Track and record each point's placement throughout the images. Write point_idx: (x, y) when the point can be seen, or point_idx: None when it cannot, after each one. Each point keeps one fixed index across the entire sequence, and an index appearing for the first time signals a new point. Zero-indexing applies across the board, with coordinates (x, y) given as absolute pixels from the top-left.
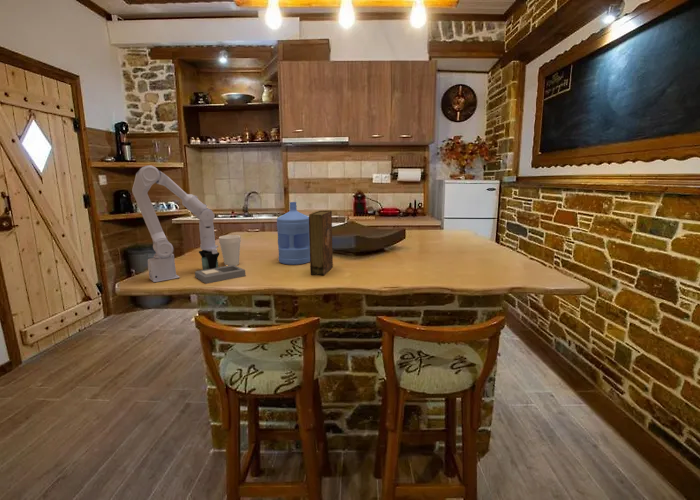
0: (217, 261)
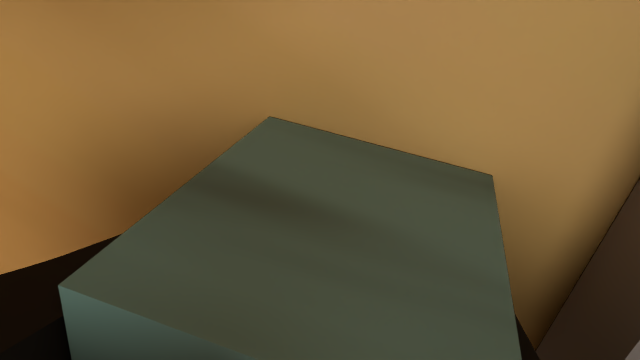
0: (511, 337)
